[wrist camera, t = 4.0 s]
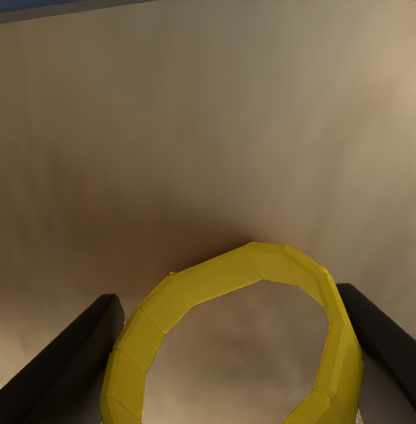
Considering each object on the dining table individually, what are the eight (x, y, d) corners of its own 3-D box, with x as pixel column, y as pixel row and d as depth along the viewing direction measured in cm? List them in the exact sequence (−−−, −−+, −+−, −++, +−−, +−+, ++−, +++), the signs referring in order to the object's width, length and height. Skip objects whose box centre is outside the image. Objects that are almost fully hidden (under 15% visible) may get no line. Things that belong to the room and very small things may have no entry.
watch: (164, 320, 12) (114, 561, 7) (120, 267, 10) (15, 513, 5) (330, 270, 10) (436, 541, 5) (302, 199, 9) (404, 465, 4)
